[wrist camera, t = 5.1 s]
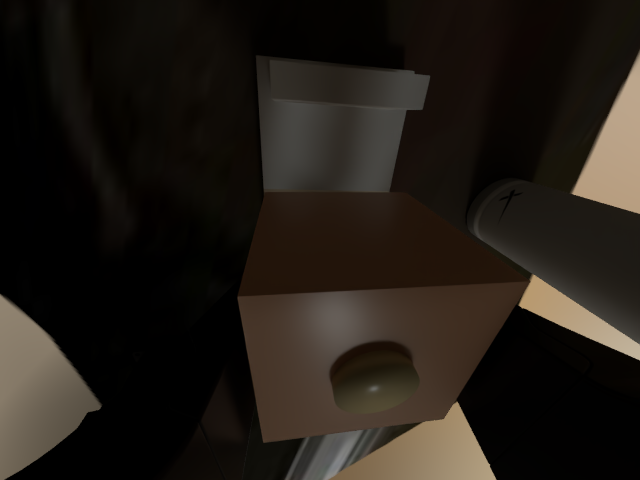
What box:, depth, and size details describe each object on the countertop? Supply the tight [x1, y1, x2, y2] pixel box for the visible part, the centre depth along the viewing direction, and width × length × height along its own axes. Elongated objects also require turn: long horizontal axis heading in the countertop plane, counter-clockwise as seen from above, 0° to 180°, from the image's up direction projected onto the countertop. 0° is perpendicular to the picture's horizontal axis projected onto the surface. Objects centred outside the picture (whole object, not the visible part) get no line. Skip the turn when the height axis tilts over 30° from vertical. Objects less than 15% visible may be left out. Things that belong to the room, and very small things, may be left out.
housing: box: [237, 192, 530, 443], centre depth 7 cm, size 5×5×5 cm
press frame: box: [256, 55, 430, 195], centre depth 18 cm, size 10×20×6 cm, turn 177°
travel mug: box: [467, 178, 640, 344], centre depth 14 cm, size 6×7×20 cm
